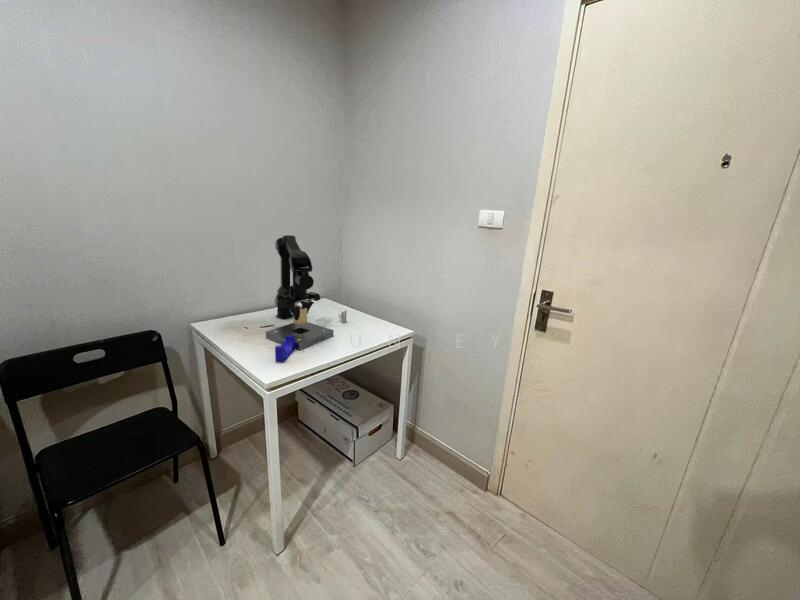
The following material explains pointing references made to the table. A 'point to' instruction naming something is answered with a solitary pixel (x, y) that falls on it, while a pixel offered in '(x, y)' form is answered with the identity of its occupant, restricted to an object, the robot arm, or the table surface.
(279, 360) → the blue u-shaped bracket
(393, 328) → the table surface
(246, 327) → the table surface
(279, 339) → the grey square mounting plate
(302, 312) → the tan wooden block
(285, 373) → the table surface
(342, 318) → the architectural model
